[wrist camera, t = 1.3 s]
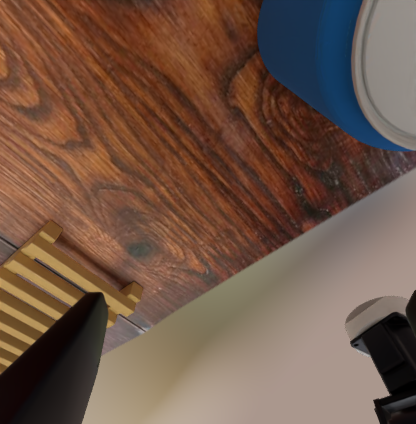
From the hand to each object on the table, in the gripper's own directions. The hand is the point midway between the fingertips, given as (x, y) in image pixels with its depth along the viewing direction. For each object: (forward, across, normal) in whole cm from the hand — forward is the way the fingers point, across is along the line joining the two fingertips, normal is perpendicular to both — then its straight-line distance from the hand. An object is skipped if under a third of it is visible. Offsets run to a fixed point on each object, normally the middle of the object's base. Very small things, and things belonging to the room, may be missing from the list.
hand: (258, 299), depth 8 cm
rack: (+13, +20, +18) cm, 30 cm away
